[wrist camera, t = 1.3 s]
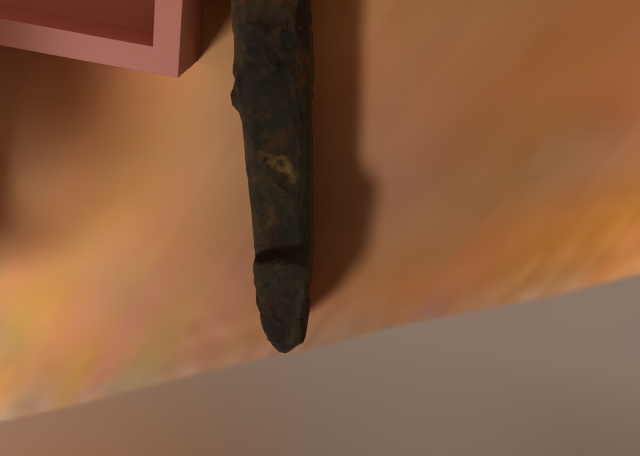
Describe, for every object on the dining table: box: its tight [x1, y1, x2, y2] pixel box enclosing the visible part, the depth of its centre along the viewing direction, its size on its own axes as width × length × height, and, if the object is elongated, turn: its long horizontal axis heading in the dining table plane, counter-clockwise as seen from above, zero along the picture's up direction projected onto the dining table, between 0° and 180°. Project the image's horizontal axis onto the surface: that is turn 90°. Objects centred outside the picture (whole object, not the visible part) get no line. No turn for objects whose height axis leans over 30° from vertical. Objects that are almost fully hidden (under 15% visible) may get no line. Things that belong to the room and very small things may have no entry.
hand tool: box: [231, 0, 314, 353], centre depth 26 cm, size 19×4×5 cm, turn 179°
